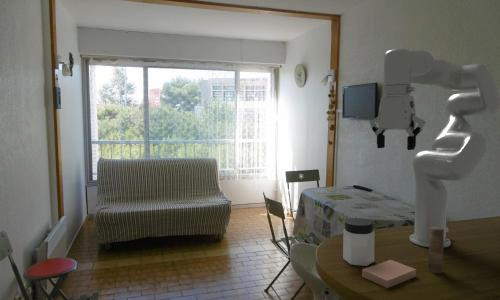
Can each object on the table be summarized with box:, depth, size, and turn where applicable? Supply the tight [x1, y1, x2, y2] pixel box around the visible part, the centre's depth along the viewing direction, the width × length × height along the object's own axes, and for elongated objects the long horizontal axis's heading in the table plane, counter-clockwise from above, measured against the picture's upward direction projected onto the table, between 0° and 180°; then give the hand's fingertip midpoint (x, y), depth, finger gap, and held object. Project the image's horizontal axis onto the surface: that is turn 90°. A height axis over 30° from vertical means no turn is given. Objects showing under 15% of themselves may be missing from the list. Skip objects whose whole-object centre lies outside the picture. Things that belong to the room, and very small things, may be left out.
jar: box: [342, 217, 376, 267], centre depth 108 cm, size 9×8×12 cm
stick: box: [428, 227, 444, 274], centre depth 100 cm, size 3×3×12 cm
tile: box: [361, 259, 417, 289], centre depth 97 cm, size 2×8×12 cm
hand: (395, 148), depth 109 cm, fingers open, 9 cm apart
